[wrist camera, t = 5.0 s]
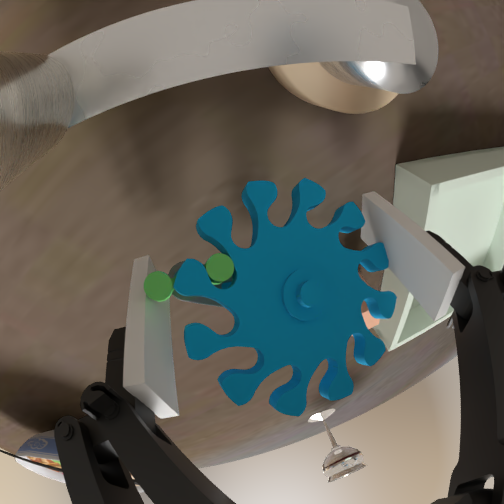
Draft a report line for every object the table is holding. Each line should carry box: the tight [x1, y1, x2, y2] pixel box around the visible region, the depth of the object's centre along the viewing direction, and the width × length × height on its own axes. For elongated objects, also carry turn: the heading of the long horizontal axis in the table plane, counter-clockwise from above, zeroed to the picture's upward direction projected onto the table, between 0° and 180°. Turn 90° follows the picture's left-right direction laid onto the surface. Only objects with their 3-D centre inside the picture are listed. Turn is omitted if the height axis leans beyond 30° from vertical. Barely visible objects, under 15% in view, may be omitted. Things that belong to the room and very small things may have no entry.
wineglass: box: [308, 409, 367, 482], centre depth 36 cm, size 7×7×12 cm
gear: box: [144, 178, 397, 416], centre depth 13 cm, size 11×6×10 cm
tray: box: [373, 147, 504, 351], centre depth 21 cm, size 20×18×4 cm
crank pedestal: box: [268, 62, 398, 114], centre depth 10 cm, size 8×8×2 cm
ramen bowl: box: [0, 430, 144, 492], centre depth 26 cm, size 25×23×8 cm
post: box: [351, 272, 380, 336], centre depth 20 cm, size 2×2×4 cm
